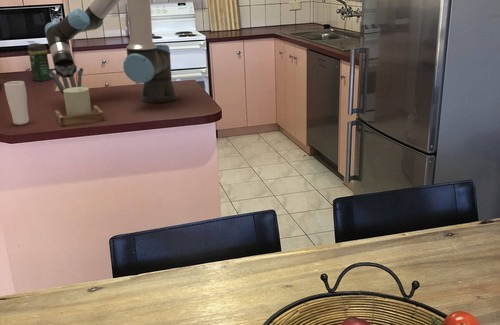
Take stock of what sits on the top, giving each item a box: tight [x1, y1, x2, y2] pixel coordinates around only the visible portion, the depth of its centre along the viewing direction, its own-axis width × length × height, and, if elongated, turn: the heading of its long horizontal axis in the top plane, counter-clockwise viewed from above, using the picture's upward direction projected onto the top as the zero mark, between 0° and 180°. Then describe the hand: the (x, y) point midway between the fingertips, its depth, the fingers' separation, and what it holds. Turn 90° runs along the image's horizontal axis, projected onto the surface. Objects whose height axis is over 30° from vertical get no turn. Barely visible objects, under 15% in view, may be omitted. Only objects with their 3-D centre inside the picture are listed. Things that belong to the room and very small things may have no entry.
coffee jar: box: [27, 42, 52, 82], centre depth 264 cm, size 10×8×19 cm
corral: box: [54, 104, 106, 128], centre depth 194 cm, size 13×15×3 cm
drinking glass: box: [3, 80, 30, 126], centre depth 188 cm, size 7×7×15 cm
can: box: [63, 86, 93, 117], centre depth 192 cm, size 9×9×12 cm
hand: (76, 107), depth 198 cm, fingers closed
